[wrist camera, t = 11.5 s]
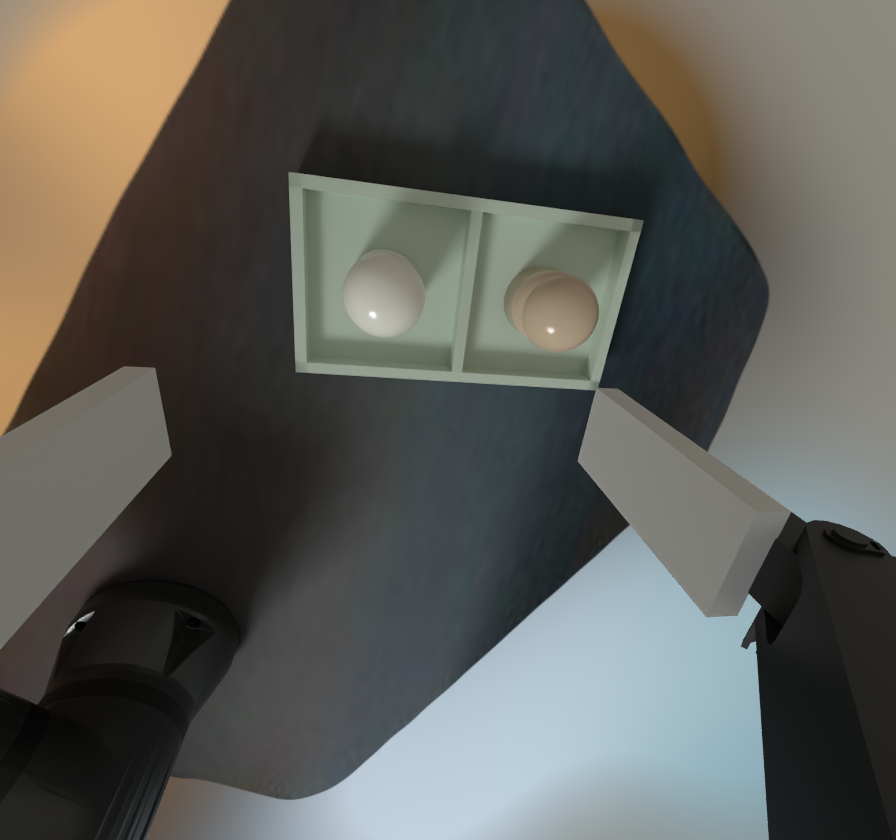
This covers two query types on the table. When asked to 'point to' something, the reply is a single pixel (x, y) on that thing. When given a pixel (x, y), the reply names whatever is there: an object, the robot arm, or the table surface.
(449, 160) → the table surface
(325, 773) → the table surface
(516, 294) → the egg brown
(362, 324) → the egg white
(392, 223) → the green divided tray
